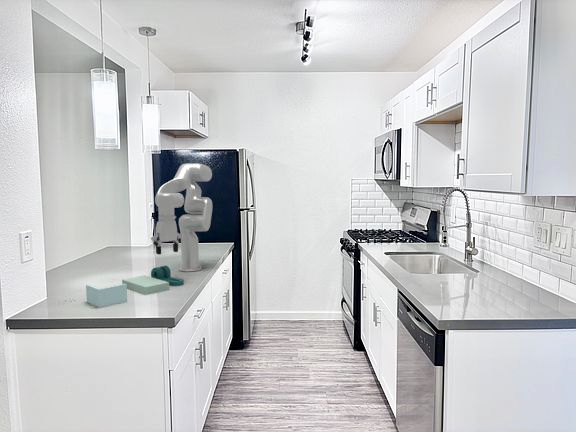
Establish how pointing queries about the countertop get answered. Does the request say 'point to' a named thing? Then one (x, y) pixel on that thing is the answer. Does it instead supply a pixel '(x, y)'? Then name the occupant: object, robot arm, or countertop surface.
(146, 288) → the base plate
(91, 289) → the l-shaped corner panel
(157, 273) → the bracket
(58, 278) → the countertop surface
